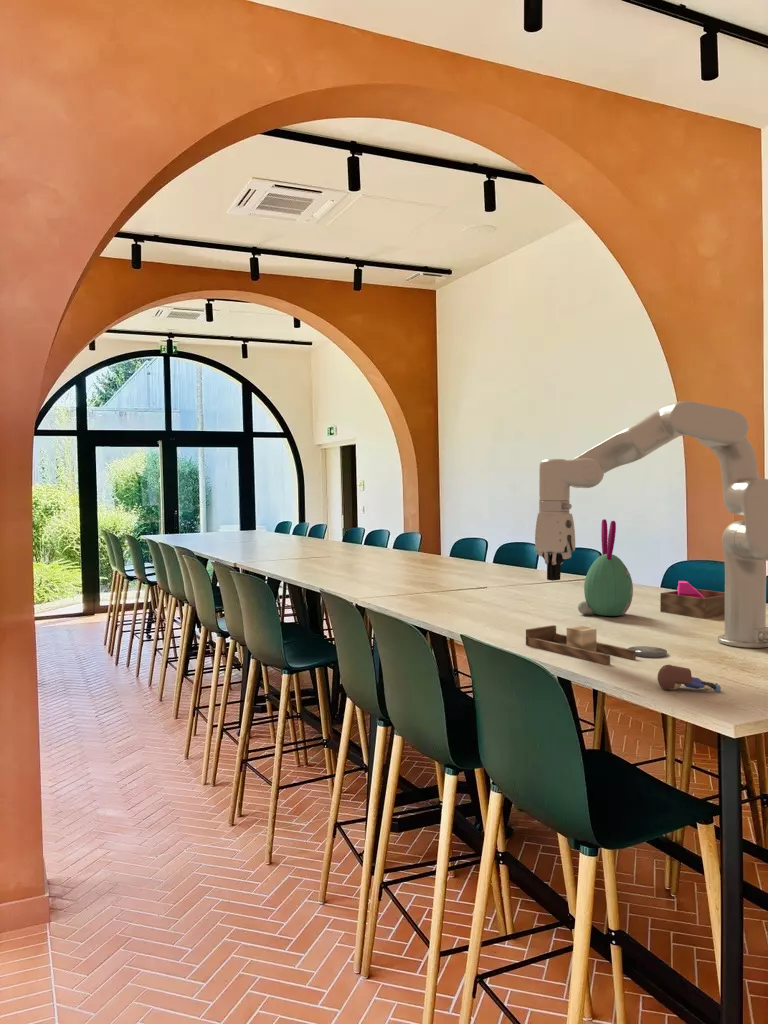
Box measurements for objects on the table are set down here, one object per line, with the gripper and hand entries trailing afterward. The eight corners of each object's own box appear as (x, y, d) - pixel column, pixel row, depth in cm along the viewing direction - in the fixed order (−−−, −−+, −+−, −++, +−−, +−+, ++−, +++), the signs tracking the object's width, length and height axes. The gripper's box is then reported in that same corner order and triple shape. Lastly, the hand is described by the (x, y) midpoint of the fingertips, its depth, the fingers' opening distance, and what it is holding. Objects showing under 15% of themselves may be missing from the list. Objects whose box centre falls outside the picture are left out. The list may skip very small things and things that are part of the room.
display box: (736, 612, 236) (736, 594, 236) (703, 618, 226) (704, 598, 226) (692, 606, 249) (692, 588, 248) (660, 611, 239) (660, 592, 239)
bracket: (678, 615, 235) (679, 582, 234) (677, 609, 244) (677, 578, 244) (720, 617, 231) (720, 584, 230) (716, 611, 241) (717, 580, 240)
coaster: (674, 654, 178) (675, 651, 178) (651, 659, 173) (651, 656, 173) (643, 647, 185) (643, 644, 185) (619, 652, 180) (619, 649, 180)
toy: (639, 619, 226) (639, 521, 225) (583, 618, 226) (583, 521, 226) (625, 610, 241) (625, 518, 240) (573, 610, 241) (573, 519, 240)
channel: (635, 658, 174) (635, 641, 174) (607, 664, 168) (607, 647, 168) (553, 640, 195) (553, 625, 195) (525, 644, 190) (525, 629, 190)
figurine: (713, 696, 149) (653, 685, 151) (717, 671, 149) (657, 660, 151) (721, 703, 144) (658, 692, 146) (726, 678, 144) (662, 666, 145)
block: (596, 653, 180) (596, 628, 180) (582, 655, 177) (582, 631, 177) (580, 649, 184) (580, 625, 184) (566, 652, 182) (566, 627, 181)
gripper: (587, 508, 183) (586, 582, 184) (543, 507, 196) (542, 576, 196) (566, 508, 179) (565, 584, 180) (522, 507, 191) (522, 578, 192)
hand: (553, 579), depth 188 cm, fingers closed
